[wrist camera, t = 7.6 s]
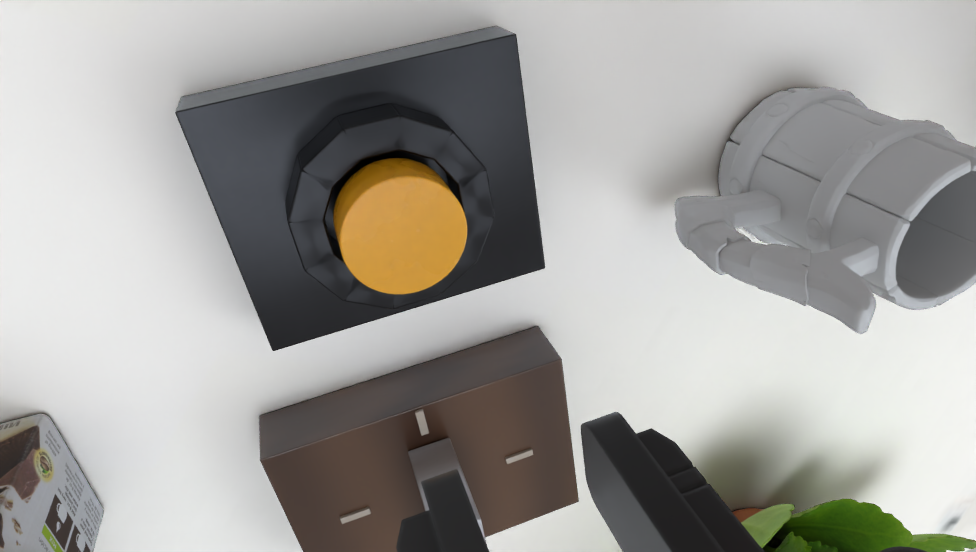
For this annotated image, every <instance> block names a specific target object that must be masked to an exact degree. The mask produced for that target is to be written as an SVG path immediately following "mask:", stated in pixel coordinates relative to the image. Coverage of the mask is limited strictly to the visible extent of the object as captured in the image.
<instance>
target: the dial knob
mask: <svg viewBox="0 0 976 552" xmlns="http://www.w3.org/2000/svg"><path fill="white" fill-rule="evenodd" d="M408 454H409V457H410V461H411V464H412V468H413V471H414V474H415V478H416V481H417V485H418V488H419V492H420V495H421V499H422V502H423V505H424V509H425V511H427V510H429V508H428V504H427V501H426V498H425V494H424V491H423V488H422V484H421V481H423V480H426V479H429V478H432V477H434V476H437V475H440V474H443V473H446V472H448V471H451V470H454V469H457V470H458V472H459V474H460V477H461V479H462V482H463V485H464V487H465V490H466V493H467V495H468V498H469V500H470V503H471V506H472V508H473V511H474V514H475V516H476V519H477V521H478V524H479V527H480V529H481V532H482V535H483V537H484V540H485V535H484V531H483V526H482V522H481V518H480V515H479V513H478V510H477V508H476V505H475V503H474V500H473V497H472V495H471V492H470V490H469V487H468V485H467V482H466V479H465V477H464V474H463V472H462V469H461V466H460V464H459V461H458V459H457V456H456V454H455V451H454V448H453V446H452V443H451V441H450V438H446V439H443V440H440V441H437V442H434V443H431V444H428V445H425V446H422V447H419V448H416V449H414V450H411V451H408ZM485 542H486V540H485ZM486 545H487V544H486Z"/></svg>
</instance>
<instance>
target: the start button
mask: <svg viewBox="0 0 976 552" xmlns="http://www.w3.org/2000/svg"><path fill="white" fill-rule="evenodd" d="M333 221H334V228H335V233H336V236H337V240H338V243H339V247H340V251H341V254H342V257H343V260H344V262H345V264H346V266H347V268H348V269H349V271H350V272H351V273H352V274H353V276H354V277H356V278H357V279H358V280H359V281H360V282H361V283H363V284H364V285H366V286H368V287H370V288H371V289H374V290H377V291H379V292H383V293H388V294H409V293H414V292H419V291H421V290H424V289H427V288H429V287H431V286H433V285H435V284H436V283H438V282H439V281H441V280H442V279H443V278H444V277H446V276H447V275H448V274H449V273H450V272H451V271H452V269H453V268H454V267H455V265H456V264H457V263H458V261H459V259H460V258H461V255H462V253H463V251H464V248H465V244H466V239H467V221H466V217H465V213H464V211H463V208H462V206H461V204H460V203H459V201H458V199H457V198H456V197H455V195H454V194H453V193H452V191H451V190H450V189H449V187H448V186H447V185H446V183H445V182H444V181H443V179H442V178H441V177H440V176H439V175H438V174H437V173H436V172H435V171H434V170H432V169H431V168H430V167H428V166H426V165H424V164H422V163H420V162H417V161H414V160H411V159H405V158H388V159H383V160H379V161H376V162H373V163H371V164H369V165H366V166H365V167H363V168H361V169H360V170H358V171H357V172H356V173H355V174H353V175H352V176H351V177H350V178H349V179H348V181H347V182H346V183H345V184H344V186H343V187H342V189H341V191H340V192H339V194H338V197H337V199H336V202H335V207H334V214H333Z"/></svg>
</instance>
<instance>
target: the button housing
mask: <svg viewBox="0 0 976 552" xmlns="http://www.w3.org/2000/svg"><path fill="white" fill-rule="evenodd" d="M175 113H176V116H177V118H178V121H179V123H180V125H181V128H182V130H183V133H184V135H185V138H186V140H187V143H188V145H189V147H190V150H191V152H192V155H193V157H194V160H195V162H196V165H197V167H198V170H199V172H200V174H201V177H202V179H203V182H204V184H205V187H206V189H207V192H208V194H209V196H210V199H211V201H212V204H213V206H214V209H215V211H216V214H217V216H218V218H219V221H220V223H221V226H222V228H223V231H224V233H225V236H226V238H227V240H228V243H229V245H230V248H231V250H232V253H233V255H234V258H235V260H236V262H237V265H238V267H239V270H240V272H241V275H242V277H243V280H244V282H245V284H246V287H247V289H248V292H249V294H250V297H251V299H252V302H253V304H254V307H255V309H256V311H257V314H258V316H259V319H260V321H261V324H262V326H263V329H264V331H265V333H266V336H267V338H268V341H269V343H270V346H271V348H272V350H273V351H275V350H278V349H282V348H285V347H288V346H292V345H295V344H298V343H301V342H305V341H308V340H311V339H315V338H318V337H321V336H324V335H328V334H331V333H334V332H337V331H341V330H344V329H347V328H351V327H354V326H357V325H360V324H364V323H367V322H370V321H374V320H377V319H380V318H383V317H387V316H390V315H393V314H396V313H400V312H403V311H406V310H410V309H413V308H416V307H419V306H423V305H426V304H429V303H432V302H436V301H439V300H442V299H446V298H449V297H452V296H455V295H459V294H462V293H465V292H469V291H472V290H475V289H478V288H482V287H485V286H488V285H491V284H495V283H498V282H501V281H505V280H508V279H511V278H514V277H518V276H521V275H524V274H527V273H531V272H534V271H537V270H541V269H544V268H545V262H544V254H543V246H542V238H541V230H540V222H539V214H538V206H537V198H536V190H535V182H534V174H533V166H532V158H531V150H530V142H529V134H528V126H527V118H526V110H525V102H524V94H523V86H522V78H521V70H520V62H519V54H518V46H517V38H516V34H515V33H512V32H510V31H508V30H505V29H503V28H501V27H498V26H494V27H489V28H485V29H480V30H476V31H471V32H467V33H463V34H458V35H454V36H449V37H445V38H440V39H436V40H432V41H427V42H423V43H418V44H414V45H409V46H405V47H401V48H396V49H392V50H387V51H383V52H378V53H374V54H369V55H365V56H361V57H356V58H352V59H347V60H343V61H338V62H334V63H330V64H325V65H321V66H316V67H312V68H307V69H303V70H299V71H294V72H290V73H285V74H281V75H276V76H272V77H268V78H263V79H259V80H254V81H250V82H245V83H241V84H236V85H232V86H228V87H223V88H219V89H214V90H210V91H205V92H201V93H197V94H192V95H188V96H183V97H181V99H180V102H179V104H178V107H177V109H176V112H175ZM388 158H405V159H411V160H414V161H417V162H420V163H422V164H424V165H426V166H428V167H430V168H431V169H432V170H434V171H435V172H436V173H437V174H438V175H439V176H440V177H441V178H442V179H443V181H444V182H445V183H446V185H447V186H448V187H449V189H450V190H451V191H452V193H453V194H454V195H455V197H456V198H457V199H458V201H459V203H460V204H461V206H462V208H463V211H464V213H465V217H466V221H467V239H466V244H465V248H464V251H463V253H462V255H461V258H460V259H459V261H458V263H457V264H456V265H455V267H454V268H453V269H452V271H451V272H450V273H449V274H448V275H447V276H446V277H444V278H443V279H442V280H441V281H439V282H438V283H436V284H435V285H433V286H431V287H429V288H427V289H424V290H421V291H419V292H414V293H409V294H388V293H383V292H379V291H377V290H374V289H371V288H370V287H368V286H366V285H364V284H363V283H361V282H360V281H359V280H358V279H357V278H356V277H354V276H353V274H352V273H351V272H350V271H349V269H348V268H347V266H346V264H345V262H344V260H343V257H342V254H341V251H340V247H339V243H338V240H337V236H336V233H335V228H334V221H333V214H334V207H335V202H336V199H337V197H338V194H339V192H340V191H341V189H342V187H343V186H344V184H345V183H346V182H347V181H348V179H349V178H350V177H351V176H352V175H353V174H355V173H356V172H357V171H358V170H360V169H361V168H363V167H365V166H366V165H369V164H371V163H373V162H376V161H379V160H383V159H388Z"/></svg>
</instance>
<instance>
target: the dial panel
mask: <svg viewBox="0 0 976 552" xmlns="http://www.w3.org/2000/svg"><path fill="white" fill-rule="evenodd" d="M259 431H260V461H261V463H262V465H263V467H264V470H265V472H266V474H267V476H268V478H269V480H270V482H271V484H272V487H273V489H274V491H275V493H276V495H277V497H278V499H279V501H280V503H281V506H282V508H283V510H284V512H285V514H286V516H287V518H288V520H289V522H290V525H291V527H292V529H293V531H294V533H295V535H296V537H297V539H298V541H299V544H300V546H301V548H302V550H303V552H397V549H396V545H397V541H398V536H399V531H400V526H401V521H402V520H403V519H406V518H408V517H411V516H414V515H417V514H419V513H422V512H425V509H424V505H423V502H422V499H421V495H420V492H419V488H418V485H417V481H416V478H415V474H414V471H413V468H412V464H411V461H410V457H409V454H408V451H411V450H414V449H416V448H419V447H422V446H425V445H428V444H431V443H434V442H437V441H440V440H443V439H446V438H450V441H451V443H452V446H453V448H454V451H455V454H456V456H457V459H458V461H459V464H460V466H461V469H462V472H463V474H464V477H465V479H466V482H467V485H468V487H469V490H470V492H471V495H472V497H473V500H474V503H475V505H476V508H477V510H478V513H479V515H480V518H481V522H482V526H483V531H484V535H485V537H487V536H490V535H493V534H495V533H498V532H500V531H503V530H506V529H508V528H511V527H513V526H516V525H519V524H521V523H524V522H527V521H529V520H532V519H534V518H537V517H540V516H542V515H545V514H547V513H550V512H553V511H555V510H558V509H560V508H563V507H566V506H568V505H571V504H574V503H576V502H578V501H579V500H578V492H577V483H576V475H575V467H574V458H573V450H572V442H571V433H570V425H569V417H568V408H567V400H566V392H565V383H564V375H563V367H562V359H561V358H560V356H559V355H558V353H557V352H556V351H555V349H554V348H553V346H552V345H551V344H550V342H549V341H548V339H547V338H546V337H545V335H544V334H543V332H542V331H541V330H540V328H539V327H538V326H537V327H534V328H531V329H527V330H524V331H521V332H518V333H515V334H512V335H509V336H506V337H503V338H500V339H496V340H493V341H490V342H487V343H484V344H481V345H478V346H475V347H472V348H469V349H466V350H462V351H459V352H456V353H453V354H450V355H447V356H444V357H441V358H438V359H435V360H431V361H428V362H425V363H422V364H419V365H416V366H413V367H410V368H407V369H404V370H400V371H397V372H394V373H391V374H388V375H385V376H382V377H379V378H376V379H373V380H369V381H366V382H363V383H360V384H357V385H354V386H351V387H348V388H345V389H342V390H338V391H335V392H332V393H329V394H326V395H323V396H320V397H317V398H314V399H311V400H307V401H304V402H301V403H298V404H295V405H292V406H289V407H286V408H283V409H280V410H276V411H273V412H270V413H267V414H264V415H261V416H259Z"/></svg>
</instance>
